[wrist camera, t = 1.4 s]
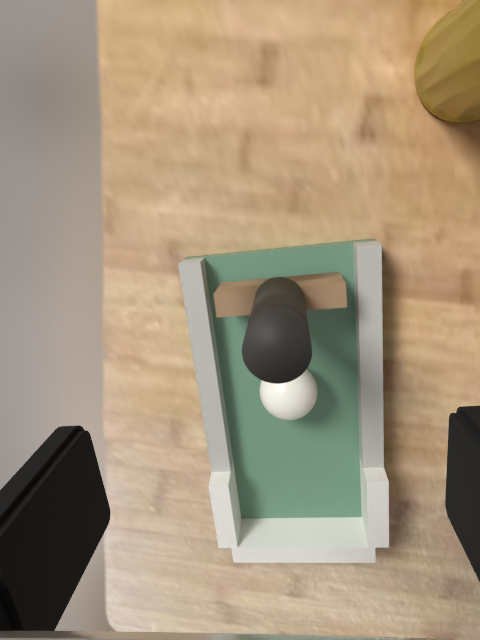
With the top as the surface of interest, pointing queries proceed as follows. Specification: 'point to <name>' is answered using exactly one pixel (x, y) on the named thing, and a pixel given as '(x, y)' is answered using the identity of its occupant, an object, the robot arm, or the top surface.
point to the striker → (279, 319)
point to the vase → (452, 65)
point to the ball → (290, 397)
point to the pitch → (301, 434)
